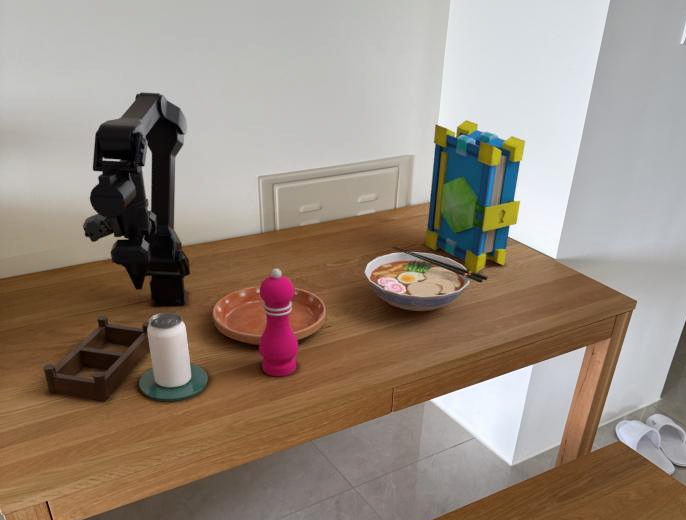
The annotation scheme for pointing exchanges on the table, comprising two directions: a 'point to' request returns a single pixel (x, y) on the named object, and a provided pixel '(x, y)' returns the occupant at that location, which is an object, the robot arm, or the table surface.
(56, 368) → the rack
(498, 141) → the decorative book
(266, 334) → the pepper mill
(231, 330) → the saucer
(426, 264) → the ramen bowl
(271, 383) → the table surface
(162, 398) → the coaster
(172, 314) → the can
